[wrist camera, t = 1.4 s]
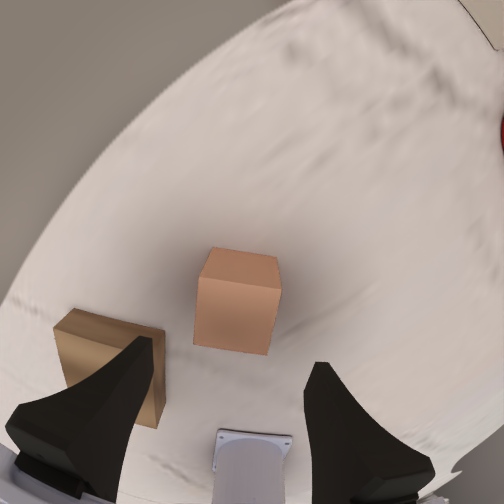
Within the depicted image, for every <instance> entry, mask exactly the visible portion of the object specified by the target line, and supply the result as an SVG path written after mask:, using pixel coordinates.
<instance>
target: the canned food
mask: <svg viewBox="0 0 504 504" xmlns="http://www.w3.org/2000/svg"><path fill="white" fill-rule="evenodd" d="M502 143H503V149H504V119H503V124H502Z"/></svg>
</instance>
